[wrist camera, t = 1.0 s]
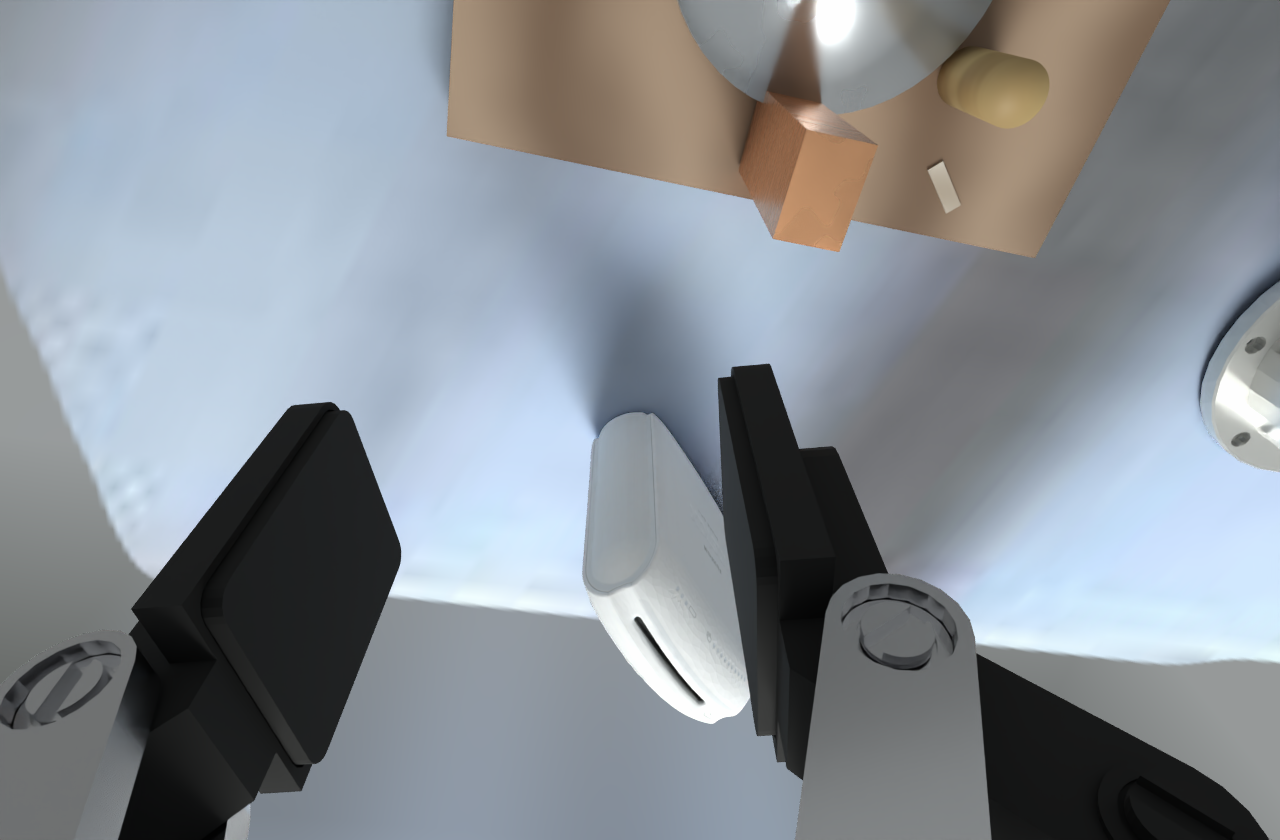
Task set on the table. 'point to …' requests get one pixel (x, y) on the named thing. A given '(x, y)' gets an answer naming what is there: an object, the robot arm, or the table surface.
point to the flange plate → (820, 92)
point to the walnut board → (901, 127)
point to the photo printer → (663, 569)
